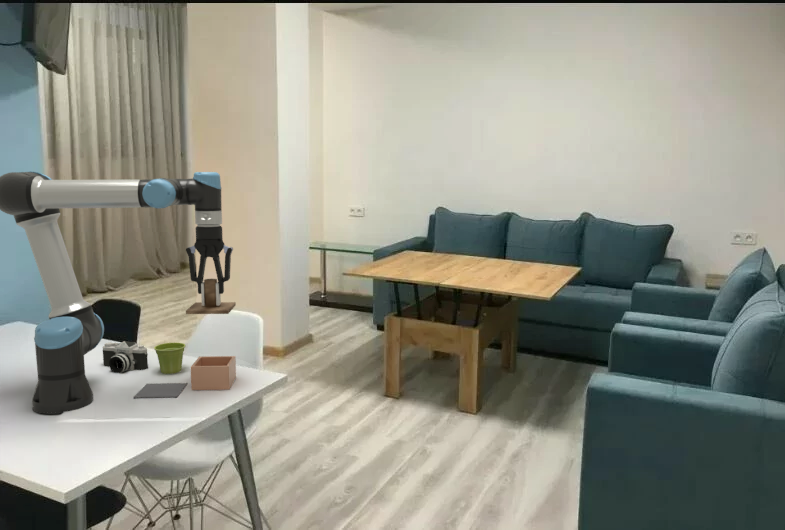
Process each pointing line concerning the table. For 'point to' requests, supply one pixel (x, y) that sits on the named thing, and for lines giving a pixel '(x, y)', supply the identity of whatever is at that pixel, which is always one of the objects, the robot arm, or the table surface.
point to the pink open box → (213, 373)
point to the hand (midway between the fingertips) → (211, 304)
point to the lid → (210, 301)
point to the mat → (161, 390)
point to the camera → (125, 356)
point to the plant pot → (170, 357)
